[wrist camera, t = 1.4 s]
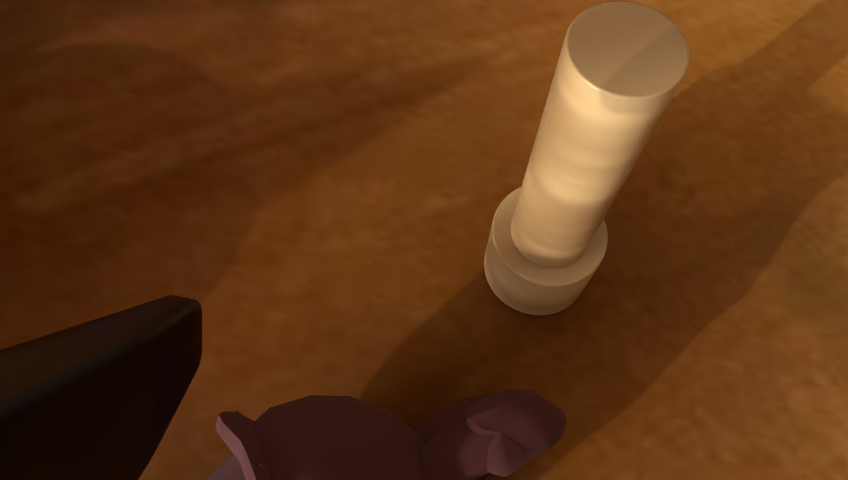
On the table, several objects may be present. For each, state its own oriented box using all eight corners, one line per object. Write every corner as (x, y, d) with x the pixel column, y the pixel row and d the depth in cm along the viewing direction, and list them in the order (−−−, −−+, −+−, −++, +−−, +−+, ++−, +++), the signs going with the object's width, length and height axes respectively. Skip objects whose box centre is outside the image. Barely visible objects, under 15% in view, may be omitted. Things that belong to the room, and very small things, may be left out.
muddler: (603, 300, 25) (751, 99, 14) (502, 327, 24) (575, 142, 13) (565, 209, 26) (673, -36, 15) (470, 233, 26) (511, -2, 15)
